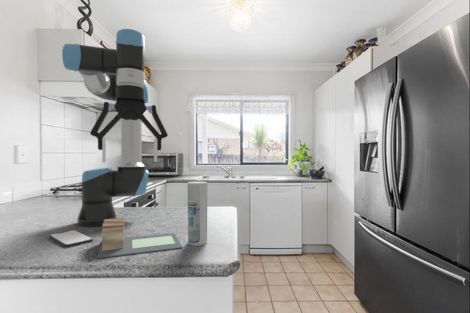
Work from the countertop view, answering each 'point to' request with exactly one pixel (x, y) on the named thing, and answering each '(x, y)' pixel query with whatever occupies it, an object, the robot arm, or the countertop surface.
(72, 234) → the phone case
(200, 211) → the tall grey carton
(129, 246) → the mat
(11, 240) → the countertop surface
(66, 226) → the countertop surface
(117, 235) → the box
